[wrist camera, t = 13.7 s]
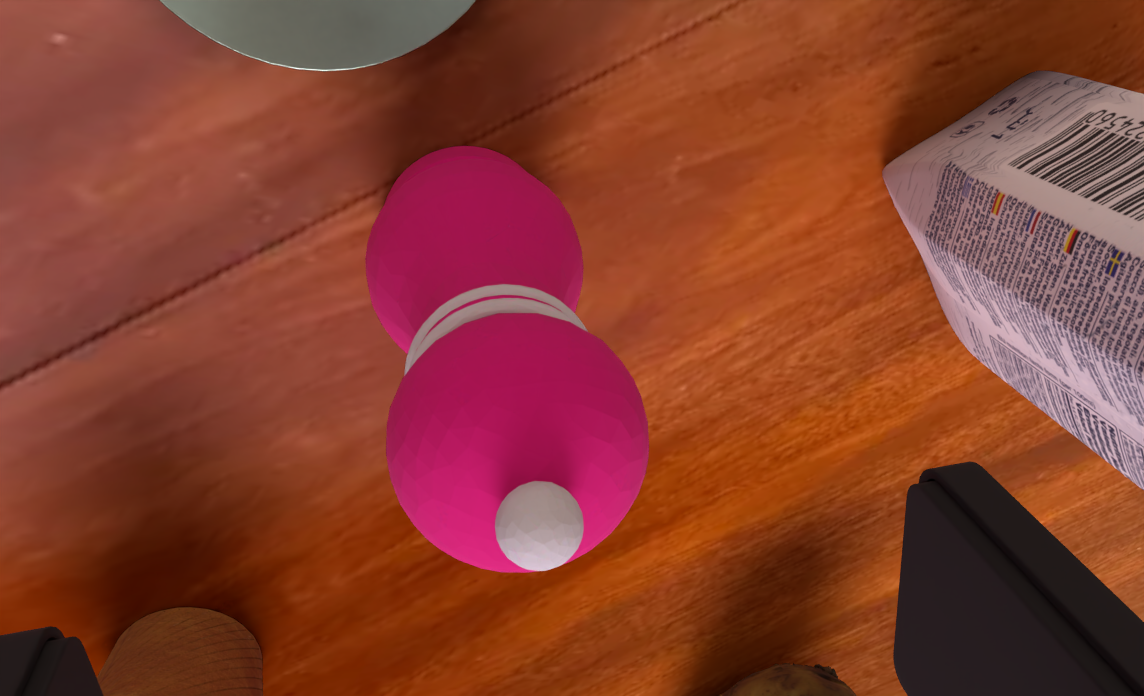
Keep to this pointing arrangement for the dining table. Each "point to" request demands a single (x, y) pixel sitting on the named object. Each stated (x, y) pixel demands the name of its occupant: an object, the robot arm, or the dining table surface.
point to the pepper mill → (499, 369)
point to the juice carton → (1043, 248)
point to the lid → (321, 28)
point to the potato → (791, 682)
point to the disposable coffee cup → (184, 657)
